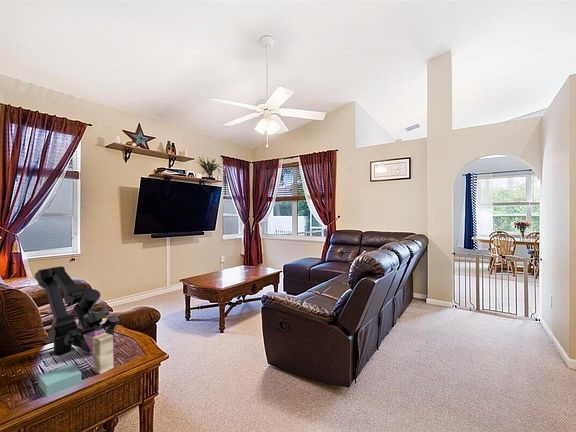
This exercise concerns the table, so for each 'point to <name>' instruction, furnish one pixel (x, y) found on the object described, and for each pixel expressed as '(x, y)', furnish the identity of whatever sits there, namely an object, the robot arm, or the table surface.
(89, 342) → the box
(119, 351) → the table surface
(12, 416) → the table surface
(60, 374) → the base block
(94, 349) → the pillar
